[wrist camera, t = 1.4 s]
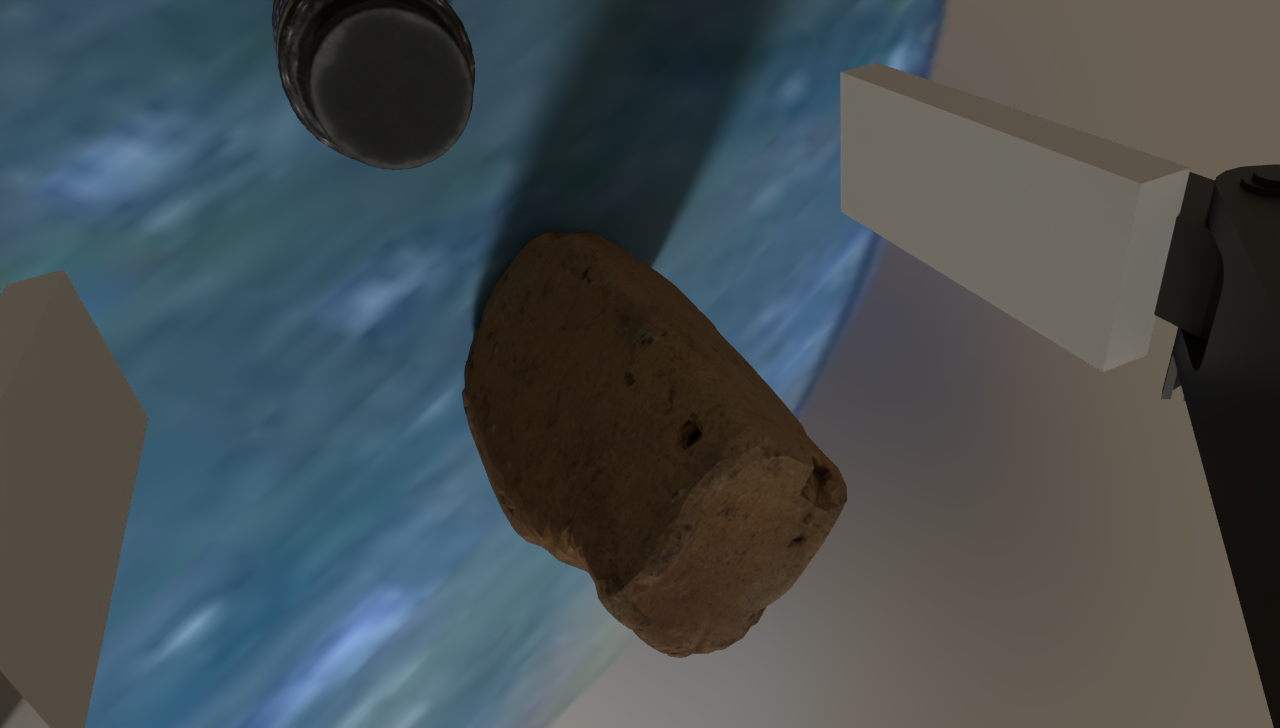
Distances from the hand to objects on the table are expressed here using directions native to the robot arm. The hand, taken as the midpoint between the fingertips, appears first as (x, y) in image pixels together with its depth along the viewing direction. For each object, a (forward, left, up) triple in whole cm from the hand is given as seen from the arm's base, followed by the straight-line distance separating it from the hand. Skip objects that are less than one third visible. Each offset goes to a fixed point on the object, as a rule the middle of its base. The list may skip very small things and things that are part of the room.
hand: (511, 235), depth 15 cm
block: (-7, -14, -24) cm, 29 cm away
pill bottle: (0, 0, -24) cm, 24 cm away
